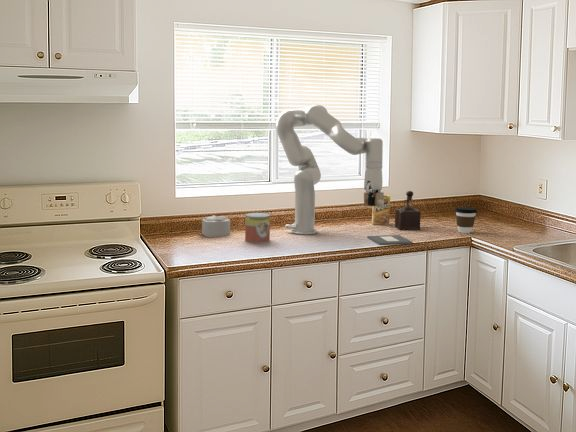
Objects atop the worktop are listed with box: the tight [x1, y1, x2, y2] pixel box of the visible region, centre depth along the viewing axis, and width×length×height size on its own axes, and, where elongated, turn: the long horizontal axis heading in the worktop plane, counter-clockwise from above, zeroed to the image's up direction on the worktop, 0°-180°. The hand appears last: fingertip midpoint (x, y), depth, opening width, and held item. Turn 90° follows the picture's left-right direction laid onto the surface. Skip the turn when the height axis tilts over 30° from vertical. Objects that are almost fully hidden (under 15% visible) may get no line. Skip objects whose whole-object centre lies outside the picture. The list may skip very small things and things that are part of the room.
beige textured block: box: [363, 191, 385, 207], centre depth 302 cm, size 8×4×6 cm, turn 55°
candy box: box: [371, 194, 391, 226], centre depth 340 cm, size 9×4×15 cm, turn 87°
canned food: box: [244, 212, 271, 244], centre depth 296 cm, size 11×11×12 cm
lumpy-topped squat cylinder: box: [201, 214, 231, 238], centre depth 308 cm, size 10×13×9 cm
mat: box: [366, 234, 414, 246], centre depth 300 cm, size 16×16×1 cm
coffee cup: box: [454, 206, 478, 234], centre depth 322 cm, size 11×11×12 cm
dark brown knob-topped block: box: [394, 190, 422, 231], centre depth 332 cm, size 16×11×18 cm
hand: (373, 204), depth 302 cm, fingers closed on beige textured block, 4 cm apart
